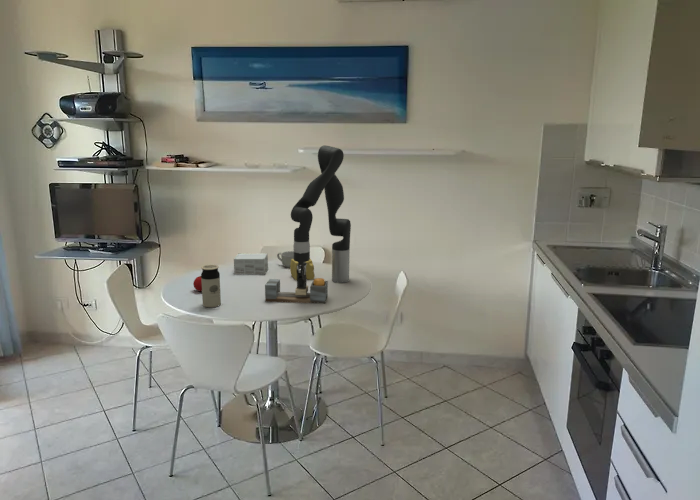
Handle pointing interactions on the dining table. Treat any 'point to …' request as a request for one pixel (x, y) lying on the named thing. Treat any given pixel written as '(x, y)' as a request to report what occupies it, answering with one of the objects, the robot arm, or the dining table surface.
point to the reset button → (319, 282)
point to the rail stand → (274, 295)
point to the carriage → (301, 290)
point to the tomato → (198, 283)
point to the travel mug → (210, 286)
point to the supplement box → (251, 264)
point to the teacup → (286, 258)
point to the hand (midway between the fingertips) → (301, 285)
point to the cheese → (308, 269)
